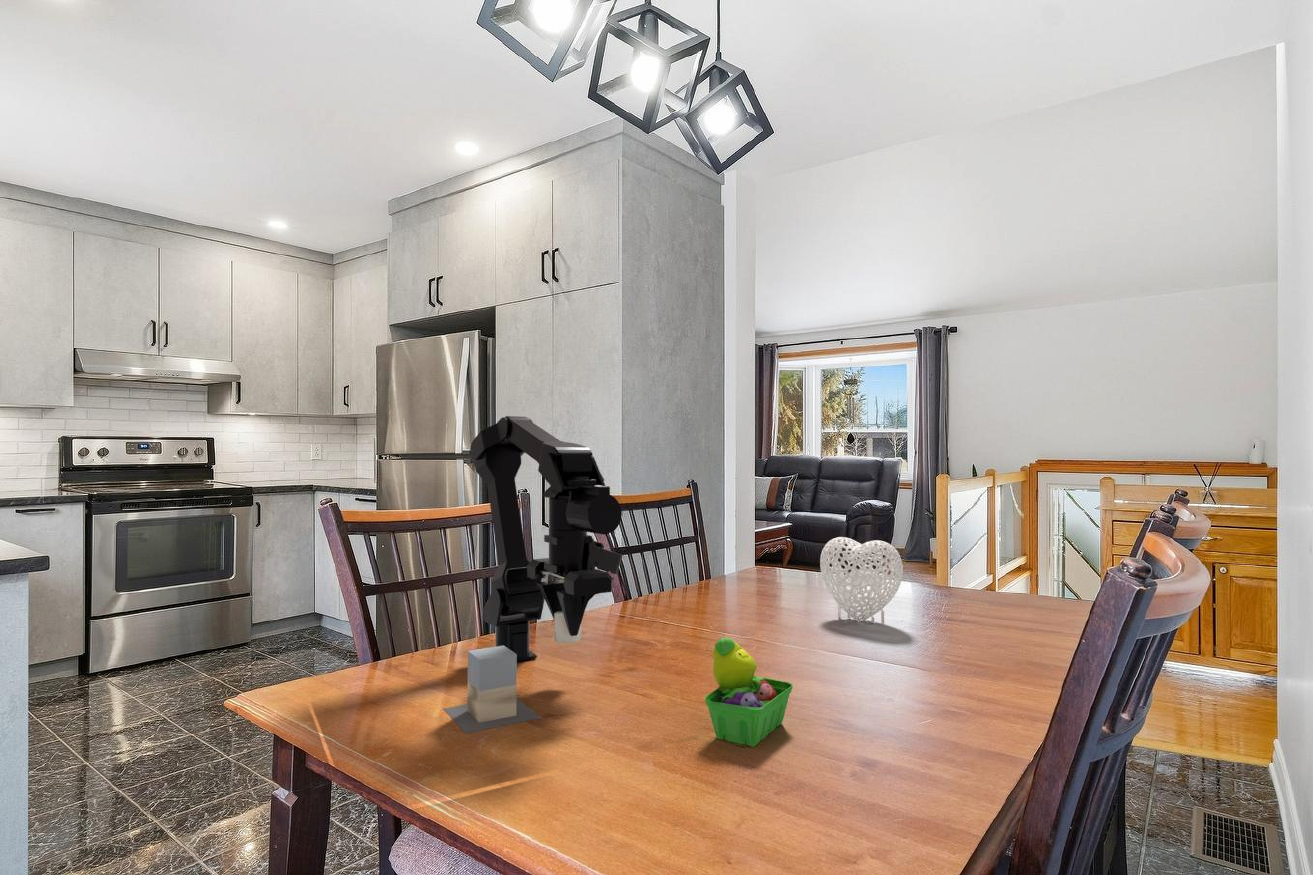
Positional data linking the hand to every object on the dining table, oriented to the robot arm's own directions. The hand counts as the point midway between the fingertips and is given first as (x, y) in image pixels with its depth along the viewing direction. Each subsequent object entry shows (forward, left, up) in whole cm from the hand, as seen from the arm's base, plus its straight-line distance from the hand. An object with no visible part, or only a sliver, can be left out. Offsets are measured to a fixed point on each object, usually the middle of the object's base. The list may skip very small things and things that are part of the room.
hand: (567, 632), depth 109 cm
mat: (+7, -14, -8) cm, 17 cm away
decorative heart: (-6, +69, -8) cm, 70 cm away
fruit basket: (+28, +12, -8) cm, 31 cm away
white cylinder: (0, 0, -1) cm, 1 cm away
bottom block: (+7, -14, -7) cm, 17 cm away
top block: (+7, -14, -3) cm, 16 cm away
